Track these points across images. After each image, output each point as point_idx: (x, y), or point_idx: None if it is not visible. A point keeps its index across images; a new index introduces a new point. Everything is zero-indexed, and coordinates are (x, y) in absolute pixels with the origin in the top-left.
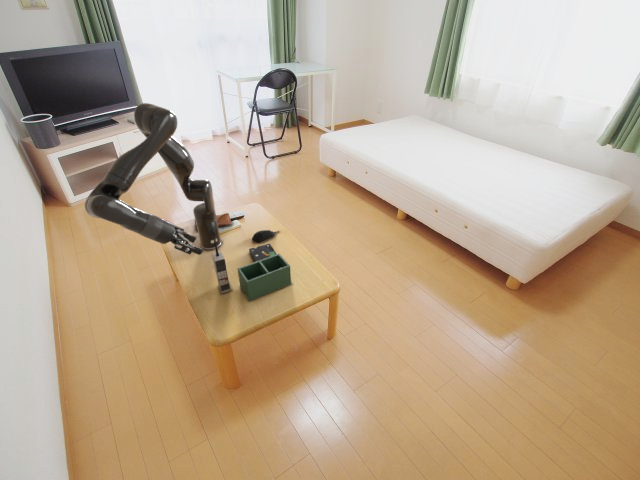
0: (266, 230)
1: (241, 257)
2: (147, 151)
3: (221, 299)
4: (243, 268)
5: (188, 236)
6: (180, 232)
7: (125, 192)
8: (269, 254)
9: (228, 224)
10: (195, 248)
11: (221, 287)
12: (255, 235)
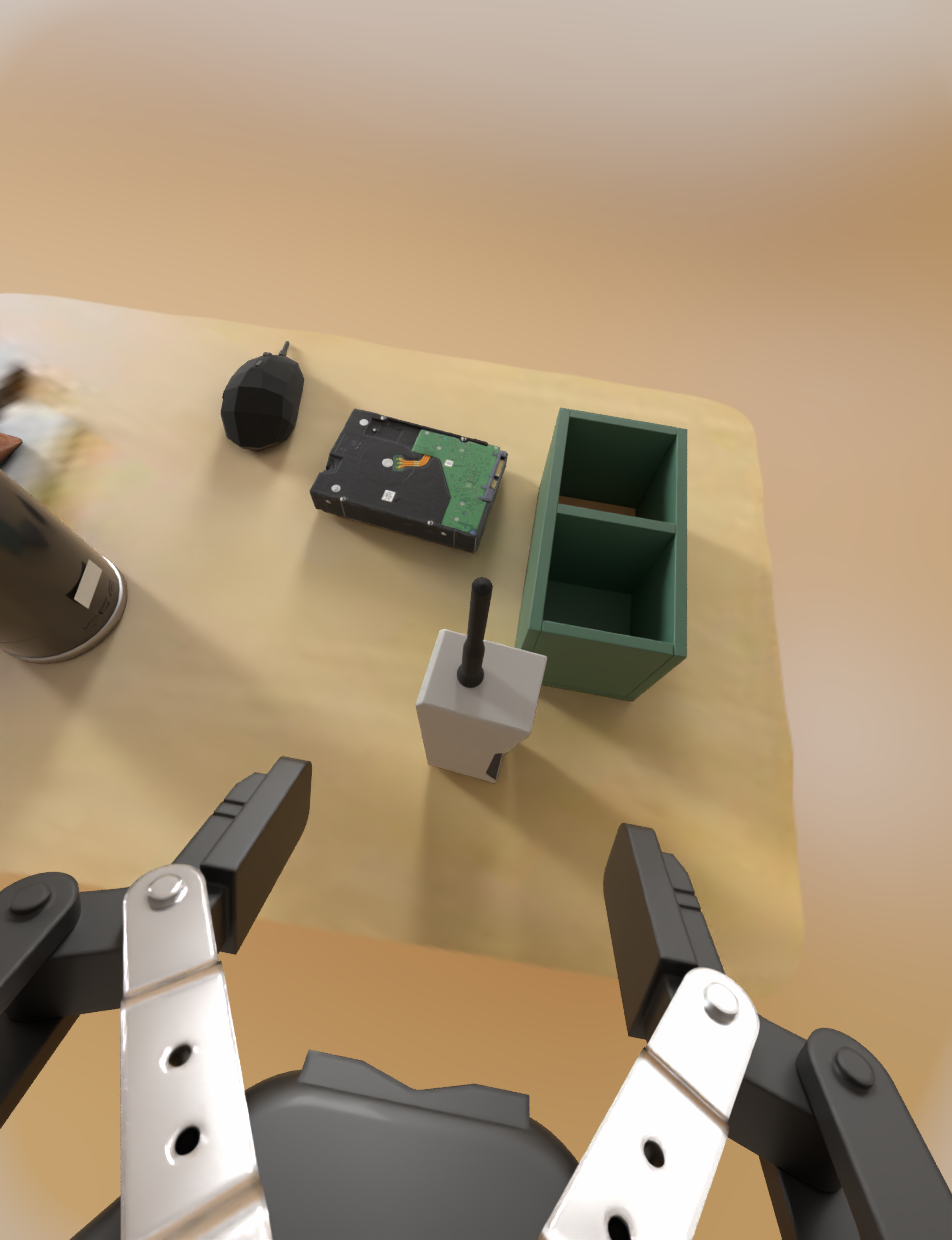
0: (259, 360)
1: (311, 555)
2: None
3: (532, 808)
4: (543, 603)
5: (252, 871)
6: (256, 1182)
7: None
8: (427, 454)
9: (6, 451)
10: (698, 955)
11: (488, 768)
12: (241, 414)
